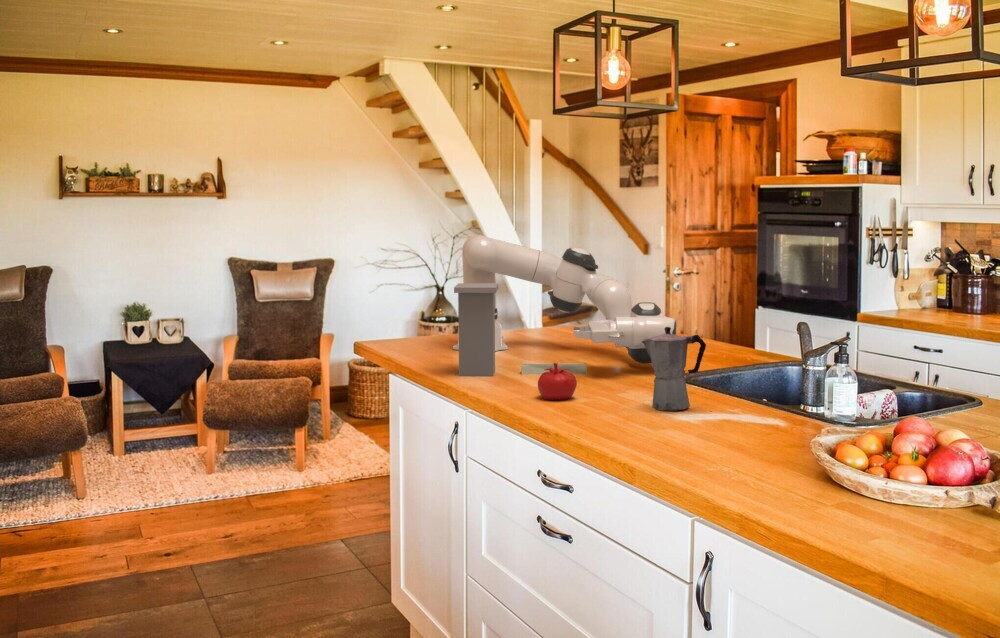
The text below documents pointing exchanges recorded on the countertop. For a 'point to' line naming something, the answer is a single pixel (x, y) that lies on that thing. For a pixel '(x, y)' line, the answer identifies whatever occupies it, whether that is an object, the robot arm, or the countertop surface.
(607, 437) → the countertop surface
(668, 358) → the moka pot
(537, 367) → the beige block
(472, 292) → the tall stand
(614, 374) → the countertop surface
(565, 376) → the pomegranate
